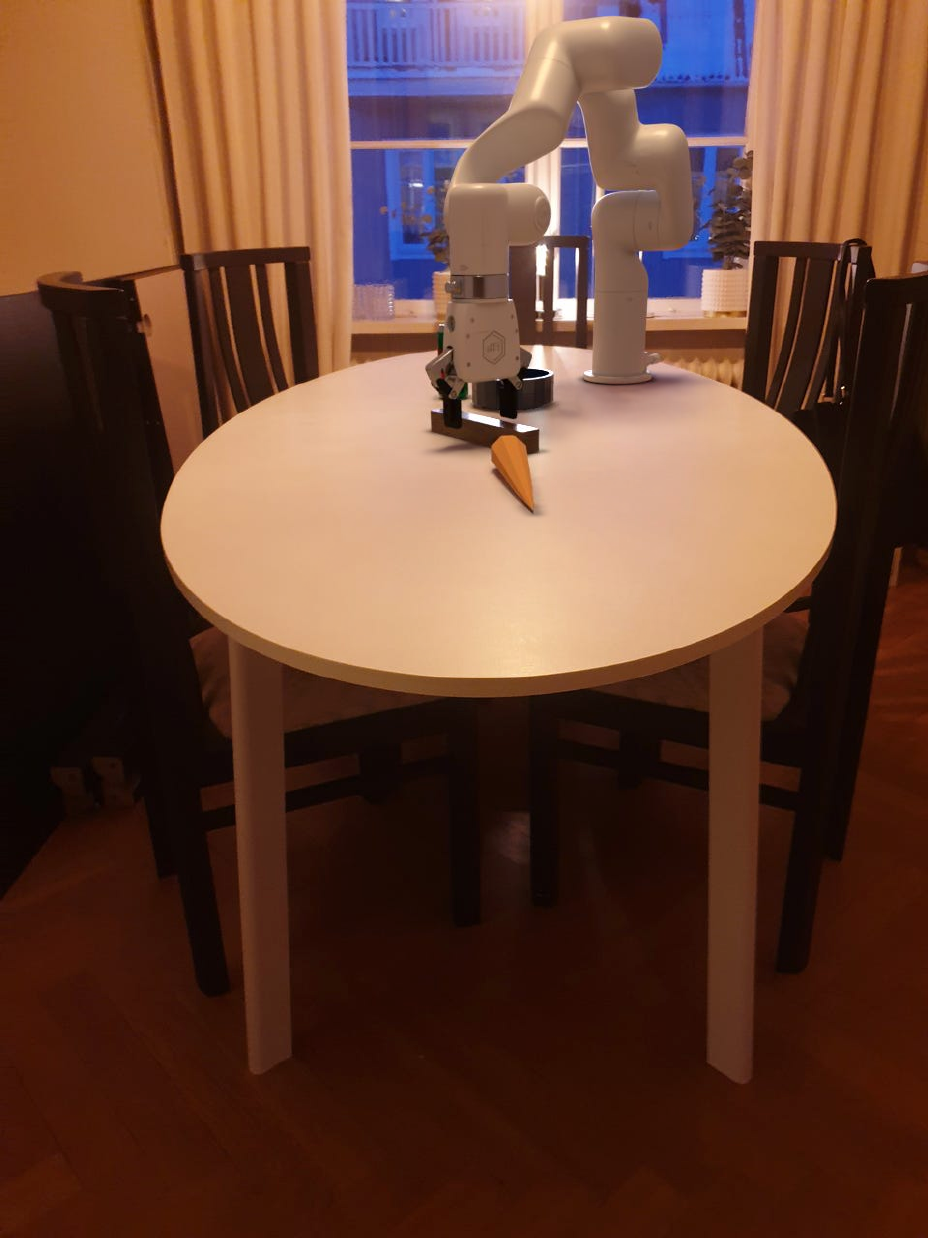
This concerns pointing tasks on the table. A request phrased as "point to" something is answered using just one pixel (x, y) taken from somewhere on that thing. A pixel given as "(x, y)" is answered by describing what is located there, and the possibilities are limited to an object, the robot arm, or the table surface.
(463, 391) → the soda can
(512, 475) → the carrot
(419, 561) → the table surface
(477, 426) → the rectangular bar
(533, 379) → the bowl
